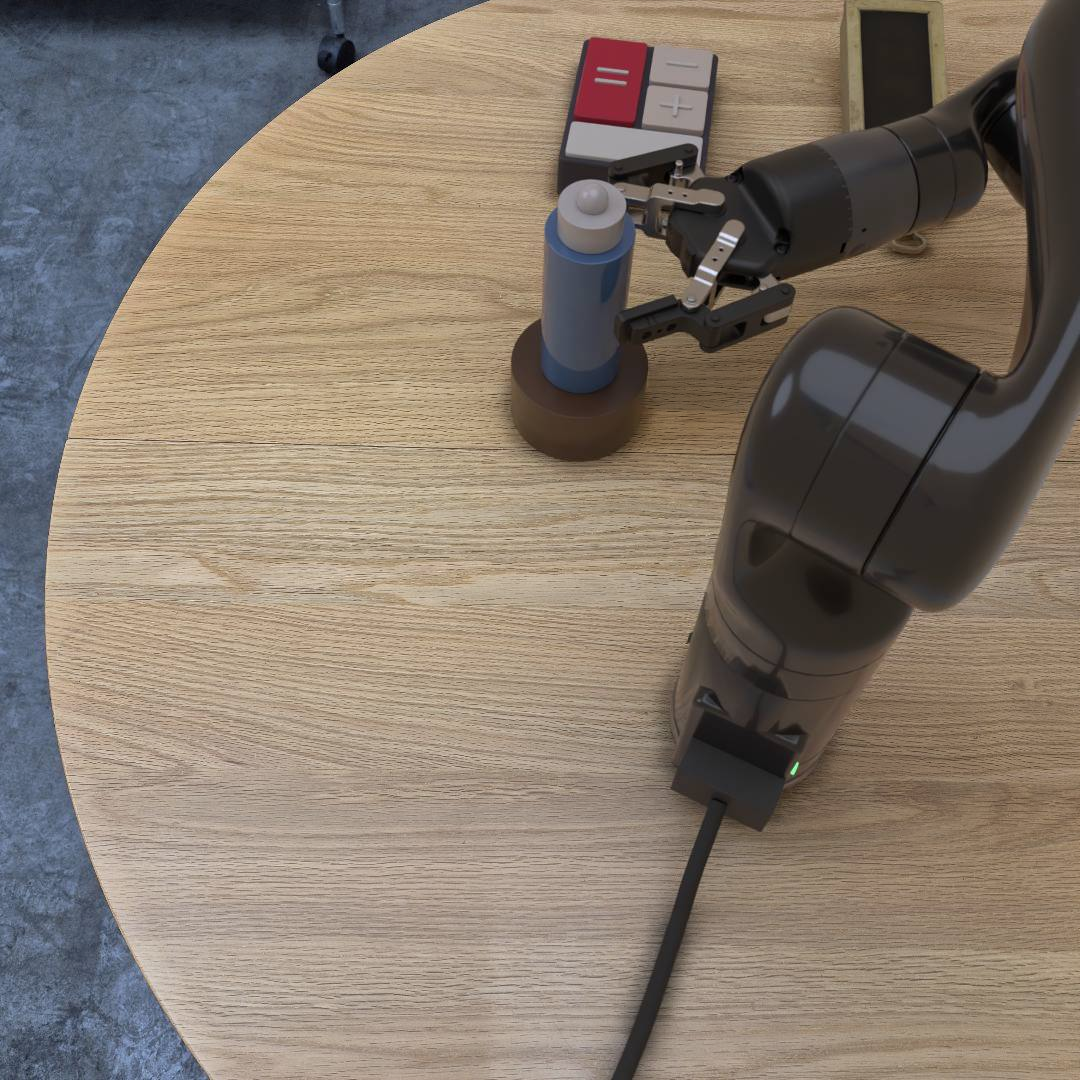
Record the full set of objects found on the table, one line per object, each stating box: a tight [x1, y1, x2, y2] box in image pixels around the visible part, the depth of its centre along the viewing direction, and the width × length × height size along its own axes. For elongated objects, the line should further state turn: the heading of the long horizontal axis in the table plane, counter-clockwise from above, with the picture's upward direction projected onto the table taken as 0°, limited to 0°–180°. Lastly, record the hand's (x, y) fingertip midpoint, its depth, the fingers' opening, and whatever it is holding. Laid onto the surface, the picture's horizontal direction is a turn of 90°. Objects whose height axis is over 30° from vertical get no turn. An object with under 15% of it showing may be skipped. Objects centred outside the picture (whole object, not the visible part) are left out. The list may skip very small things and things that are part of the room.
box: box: [839, 0, 949, 255], centre depth 94 cm, size 8×22×5 cm, turn 178°
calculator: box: [556, 36, 719, 211], centre depth 94 cm, size 11×4×15 cm
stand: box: [510, 317, 650, 462], centre depth 81 cm, size 9×9×5 cm
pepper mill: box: [540, 180, 637, 394], centre depth 72 cm, size 5×5×15 cm
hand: (586, 278), depth 71 cm, fingers open, 8 cm apart
